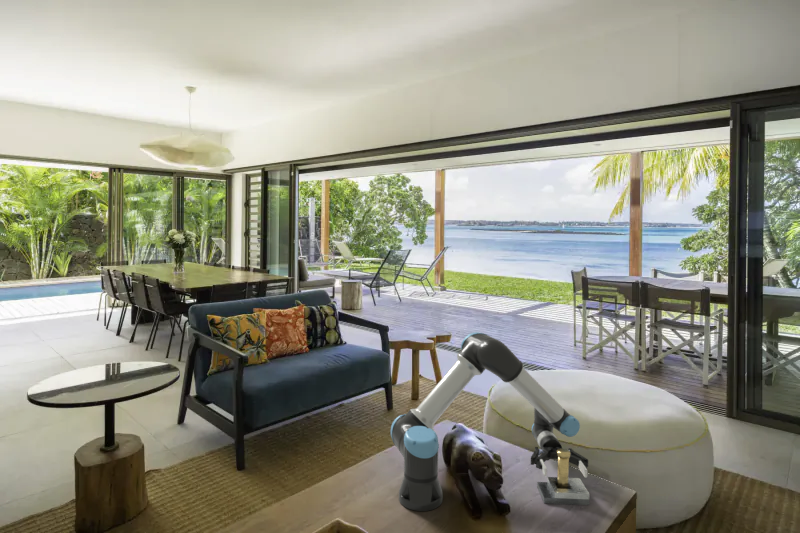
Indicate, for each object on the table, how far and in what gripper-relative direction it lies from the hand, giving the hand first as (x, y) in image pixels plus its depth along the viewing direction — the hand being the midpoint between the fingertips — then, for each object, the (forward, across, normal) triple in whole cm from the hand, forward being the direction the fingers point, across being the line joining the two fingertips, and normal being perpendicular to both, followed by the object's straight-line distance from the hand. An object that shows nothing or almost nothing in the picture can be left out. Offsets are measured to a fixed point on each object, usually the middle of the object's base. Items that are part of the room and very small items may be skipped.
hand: (565, 473), depth 157 cm
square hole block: (-3, 0, -10) cm, 11 cm away
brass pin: (-3, 0, -10) cm, 11 cm away
